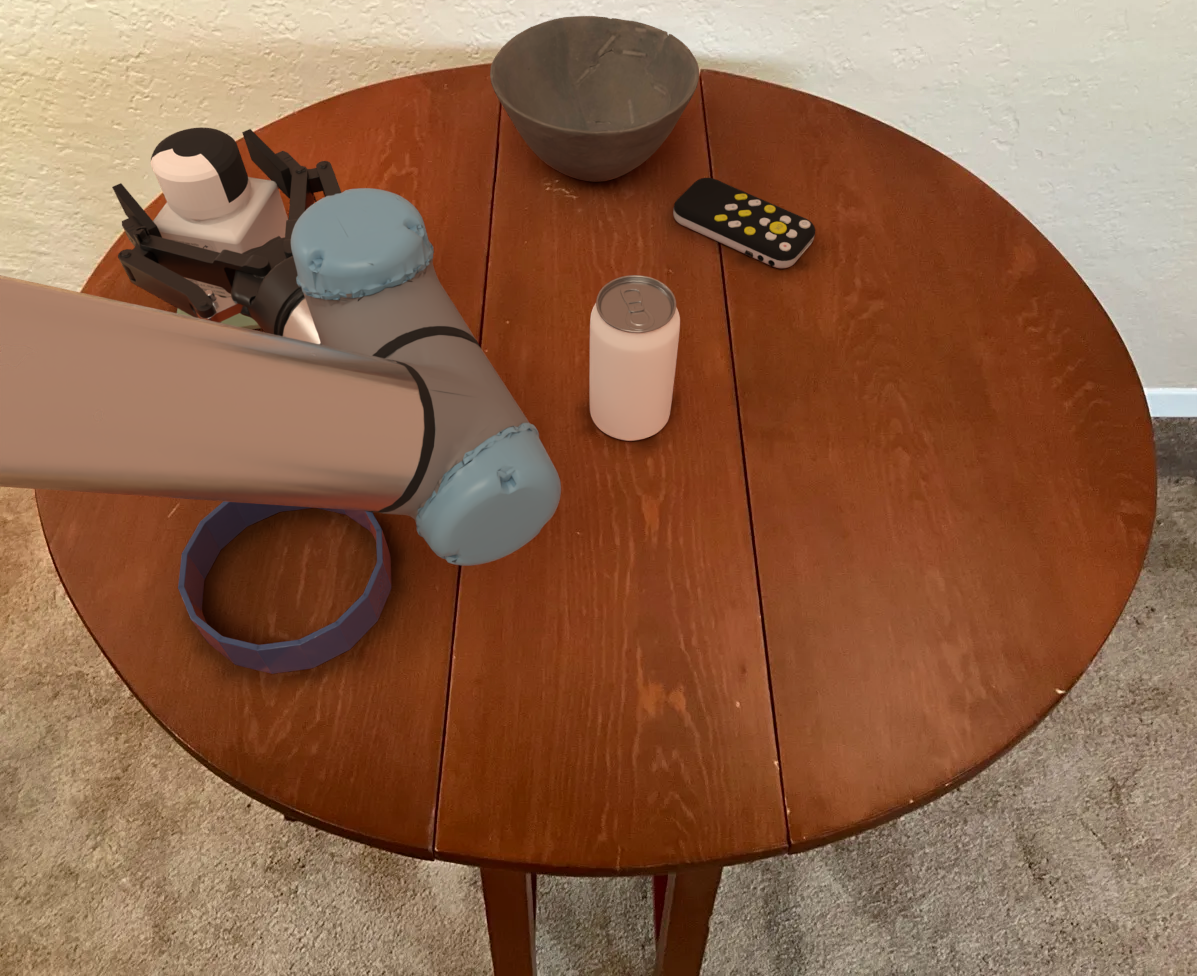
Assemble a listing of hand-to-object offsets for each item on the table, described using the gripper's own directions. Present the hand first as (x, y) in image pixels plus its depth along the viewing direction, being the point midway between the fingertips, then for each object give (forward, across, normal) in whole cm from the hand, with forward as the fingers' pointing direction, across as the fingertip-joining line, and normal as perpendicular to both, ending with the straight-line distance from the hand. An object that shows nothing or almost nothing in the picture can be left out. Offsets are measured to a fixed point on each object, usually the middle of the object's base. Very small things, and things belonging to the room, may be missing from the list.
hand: (188, 171), depth 79 cm
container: (-4, 0, -9) cm, 10 cm away
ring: (-33, -12, -10) cm, 37 cm away
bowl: (-10, +35, -10) cm, 38 cm away
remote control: (-26, +39, -10) cm, 48 cm away
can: (-36, +17, -10) cm, 41 cm away
